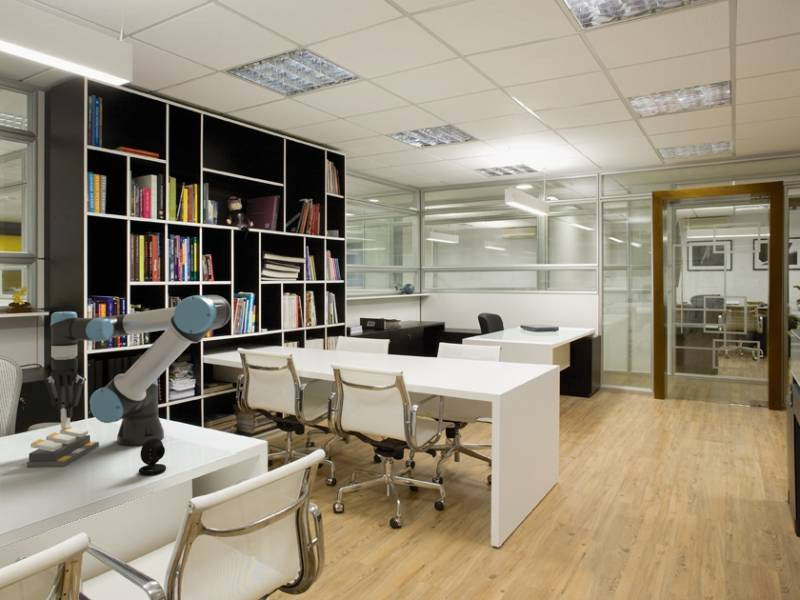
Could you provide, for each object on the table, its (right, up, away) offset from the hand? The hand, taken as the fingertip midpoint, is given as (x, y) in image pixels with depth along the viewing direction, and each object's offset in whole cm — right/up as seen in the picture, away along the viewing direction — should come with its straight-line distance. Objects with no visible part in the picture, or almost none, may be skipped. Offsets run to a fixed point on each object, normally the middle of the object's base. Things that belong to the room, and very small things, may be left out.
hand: (65, 427), depth 187 cm
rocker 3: (+3, -2, 0) cm, 3 cm away
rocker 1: (+3, -2, -15) cm, 16 cm away
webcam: (+39, -8, -22) cm, 46 cm away
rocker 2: (+3, -2, -8) cm, 8 cm away
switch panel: (+4, -8, -7) cm, 11 cm away
